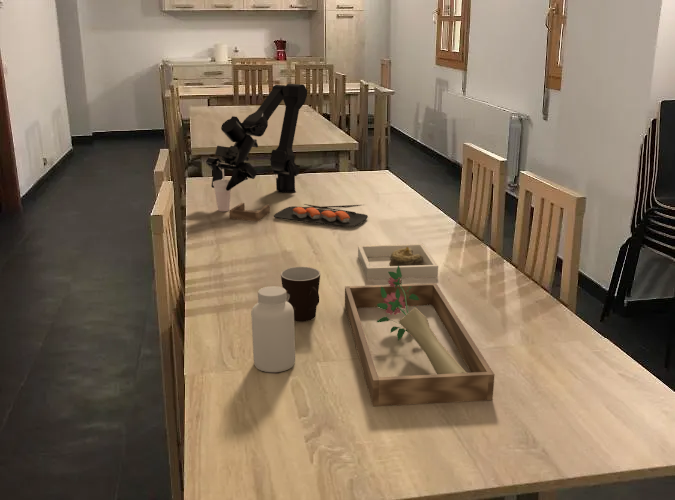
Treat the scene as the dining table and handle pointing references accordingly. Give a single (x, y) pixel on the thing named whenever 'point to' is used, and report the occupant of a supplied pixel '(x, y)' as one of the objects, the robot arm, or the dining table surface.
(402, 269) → the bagel tray
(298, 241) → the dining table surface
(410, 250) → the brown round lump
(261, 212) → the rest
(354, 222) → the sushi plate
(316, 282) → the coffee mug
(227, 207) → the smoothie
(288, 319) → the pill bottle
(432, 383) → the flower tray
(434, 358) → the flower vase
